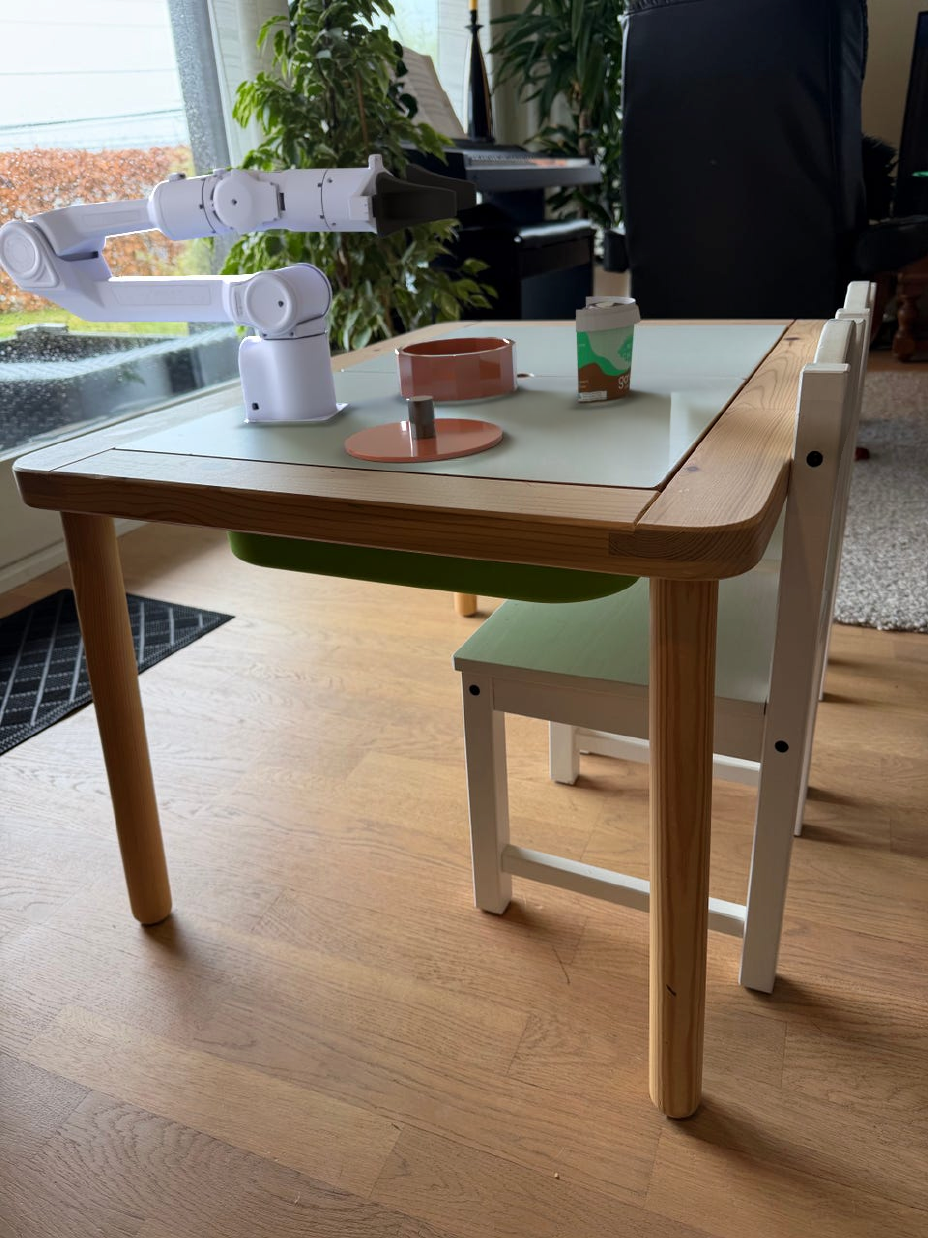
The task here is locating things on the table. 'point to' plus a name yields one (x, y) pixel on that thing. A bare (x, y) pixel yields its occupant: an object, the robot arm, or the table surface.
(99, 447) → the table surface
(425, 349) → the tin
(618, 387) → the food container
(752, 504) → the table surface
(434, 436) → the cover
